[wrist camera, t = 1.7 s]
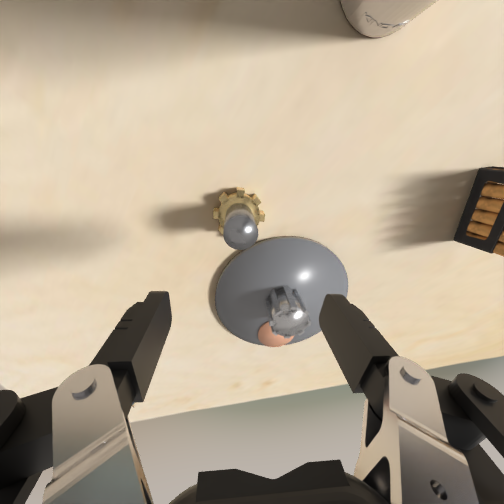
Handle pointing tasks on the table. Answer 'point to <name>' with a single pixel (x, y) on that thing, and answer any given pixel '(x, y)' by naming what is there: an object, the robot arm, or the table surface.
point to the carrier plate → (275, 274)
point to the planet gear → (239, 218)
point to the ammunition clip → (484, 213)
